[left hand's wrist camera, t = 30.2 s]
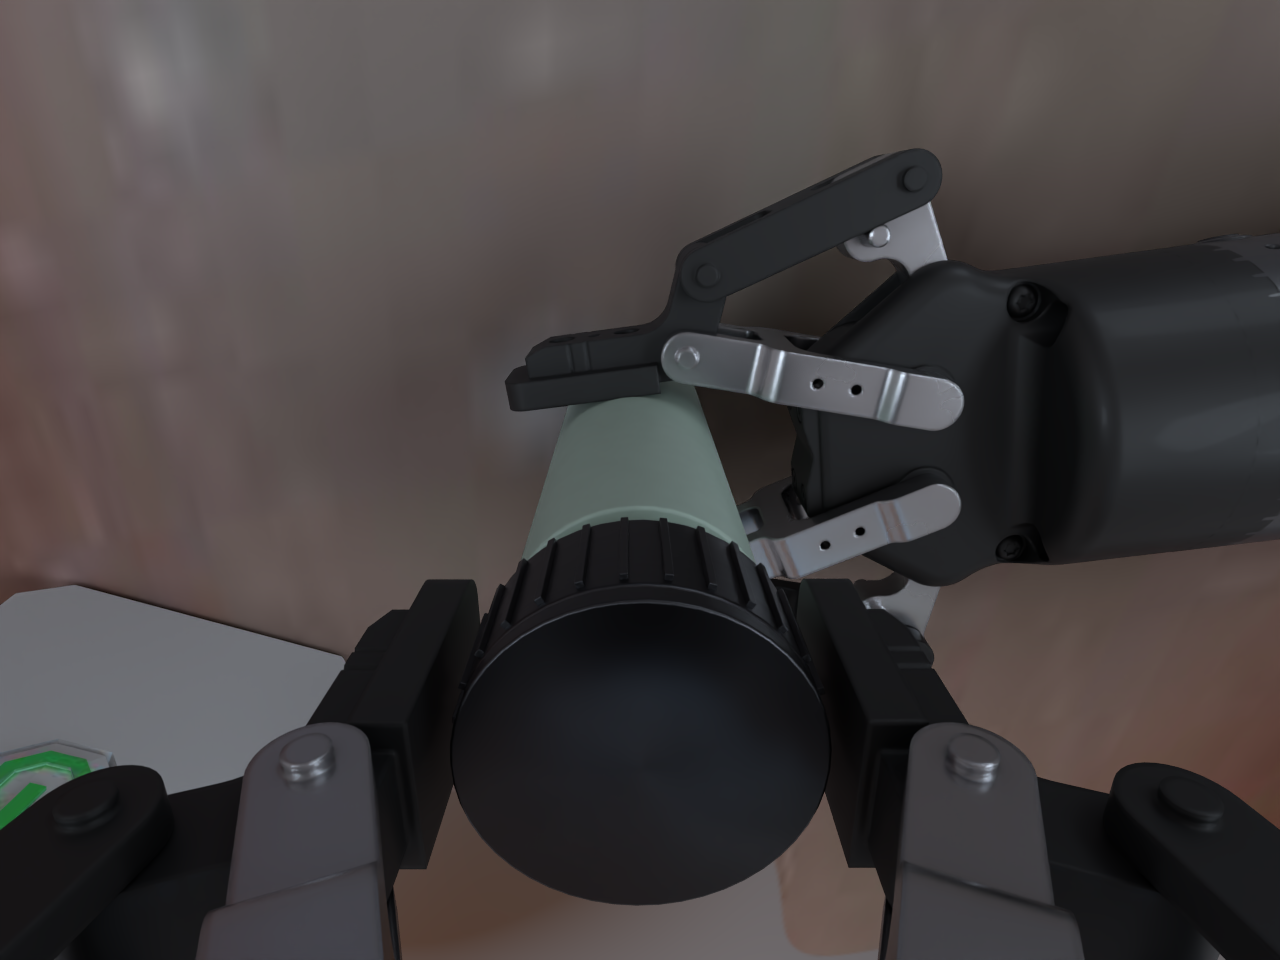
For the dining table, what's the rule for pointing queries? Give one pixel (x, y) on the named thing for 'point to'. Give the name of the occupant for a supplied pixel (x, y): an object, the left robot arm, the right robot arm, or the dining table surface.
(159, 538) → the dining table surface
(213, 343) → the dining table surface
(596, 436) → the pale green tube
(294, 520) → the dining table surface
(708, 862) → the lid
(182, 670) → the electronic device
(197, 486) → the dining table surface
